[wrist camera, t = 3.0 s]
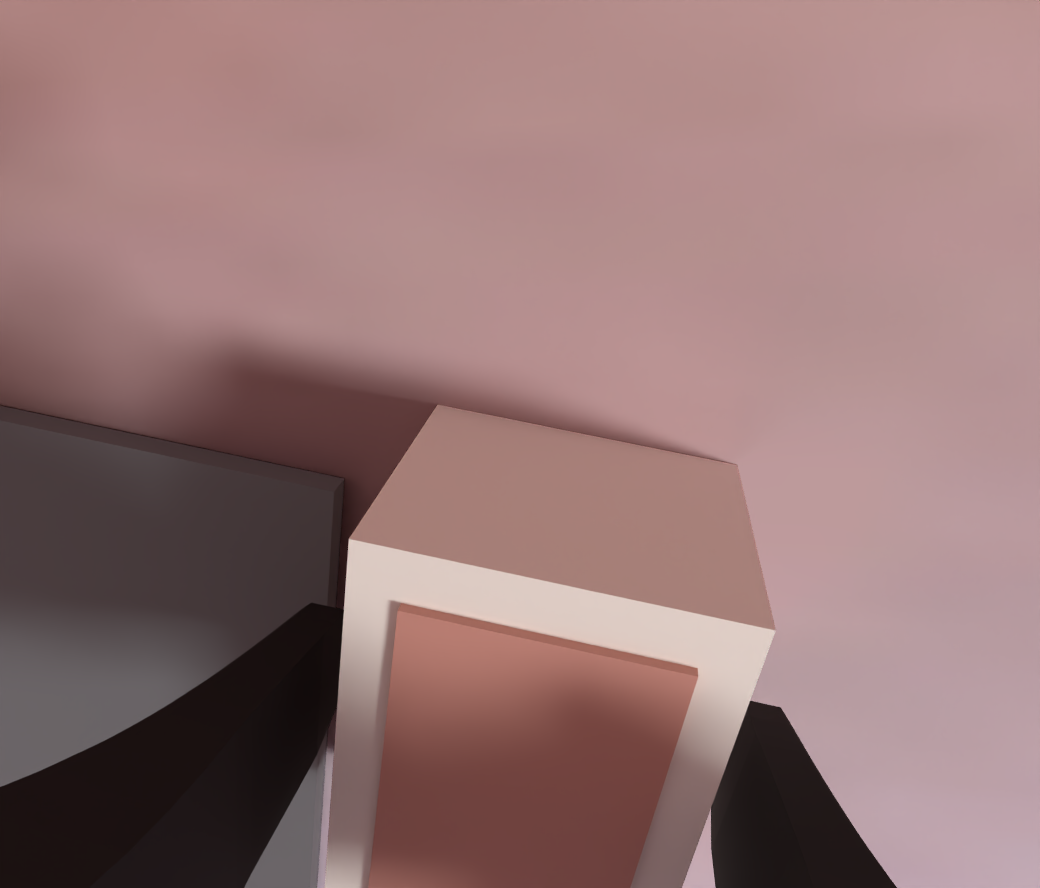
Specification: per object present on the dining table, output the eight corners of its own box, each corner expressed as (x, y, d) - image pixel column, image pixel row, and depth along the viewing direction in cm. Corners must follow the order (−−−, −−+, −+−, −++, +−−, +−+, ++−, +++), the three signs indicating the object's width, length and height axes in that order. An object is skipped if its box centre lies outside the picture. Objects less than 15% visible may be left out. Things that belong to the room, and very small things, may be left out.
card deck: (627, 817, 17) (620, 1063, 12) (397, 763, 17) (314, 986, 13) (736, 460, 13) (777, 639, 9) (440, 400, 13) (344, 545, 9)
